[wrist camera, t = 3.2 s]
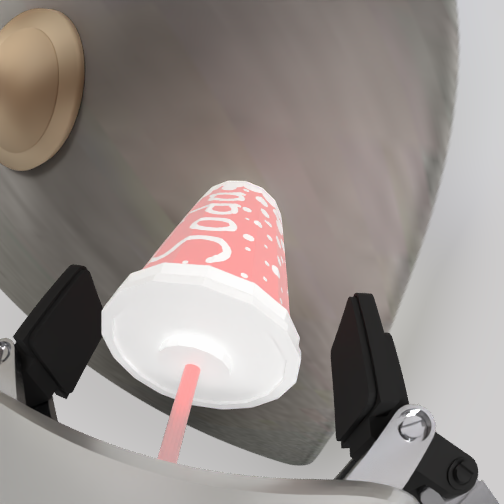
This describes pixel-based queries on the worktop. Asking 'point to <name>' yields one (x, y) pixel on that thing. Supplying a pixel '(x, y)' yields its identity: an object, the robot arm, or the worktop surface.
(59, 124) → the plate
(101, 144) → the worktop surface
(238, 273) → the beverage cup
